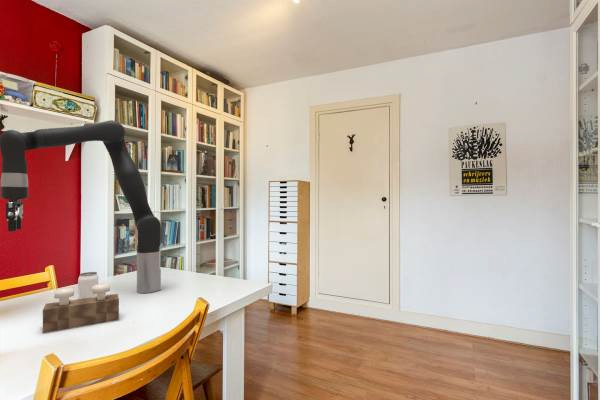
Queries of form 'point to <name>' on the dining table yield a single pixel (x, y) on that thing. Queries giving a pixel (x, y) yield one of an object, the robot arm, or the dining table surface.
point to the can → (87, 284)
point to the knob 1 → (63, 295)
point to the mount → (80, 313)
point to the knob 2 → (101, 290)
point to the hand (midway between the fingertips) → (15, 230)
